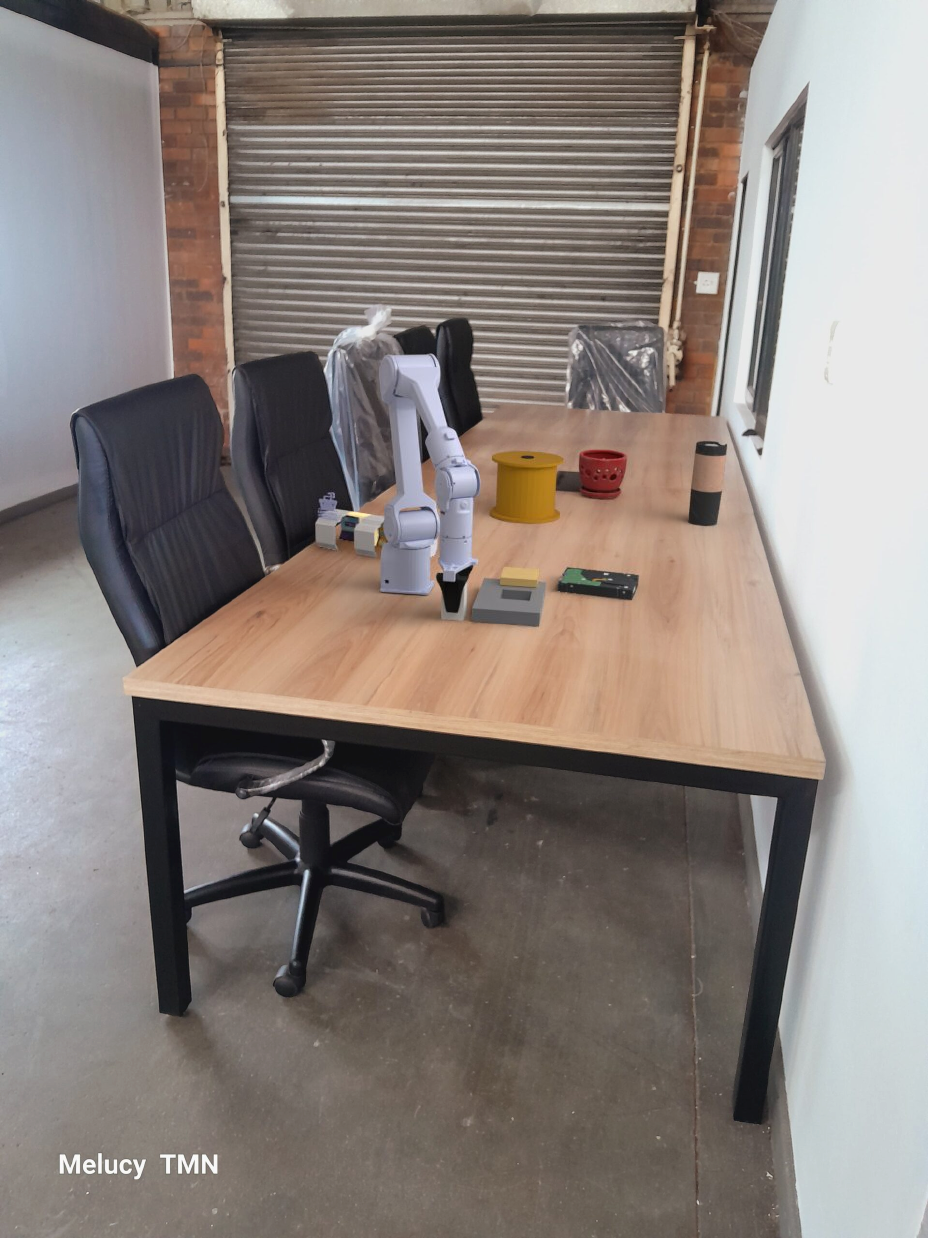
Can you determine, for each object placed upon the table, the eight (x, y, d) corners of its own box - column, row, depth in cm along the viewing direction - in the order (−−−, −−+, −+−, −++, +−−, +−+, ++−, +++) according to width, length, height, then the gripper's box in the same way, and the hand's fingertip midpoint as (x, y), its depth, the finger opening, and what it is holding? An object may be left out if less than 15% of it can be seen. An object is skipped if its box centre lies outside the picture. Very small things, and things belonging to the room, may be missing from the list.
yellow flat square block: (499, 584, 181) (500, 577, 181) (503, 574, 188) (503, 566, 187) (536, 587, 181) (537, 579, 180) (539, 576, 187) (539, 569, 187)
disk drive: (638, 587, 193) (565, 578, 196) (639, 574, 192) (566, 565, 195) (632, 603, 183) (556, 594, 187) (633, 589, 182) (557, 580, 186)
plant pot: (567, 492, 271) (570, 450, 266) (607, 489, 276) (610, 447, 272) (592, 502, 259) (595, 458, 255) (632, 499, 265) (636, 456, 261)
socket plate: (471, 621, 170) (472, 608, 169) (483, 589, 187) (484, 577, 186) (539, 626, 168) (539, 613, 167) (545, 594, 185) (545, 582, 184)
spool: (562, 524, 236) (566, 464, 231) (489, 522, 237) (492, 462, 231) (557, 507, 253) (560, 451, 248) (489, 505, 253) (491, 449, 248)
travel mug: (686, 524, 239) (695, 444, 233) (687, 517, 246) (696, 439, 240) (718, 527, 238) (728, 447, 231) (718, 520, 245) (727, 441, 238)
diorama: (315, 549, 211) (314, 491, 206) (341, 539, 220) (340, 482, 215) (414, 567, 201) (415, 506, 196) (437, 555, 209) (438, 496, 205)
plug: (441, 619, 170) (441, 587, 168) (444, 611, 174) (445, 580, 172) (463, 620, 170) (464, 588, 168) (466, 613, 174) (467, 582, 172)
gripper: (473, 547, 160) (470, 623, 164) (483, 525, 173) (481, 596, 178) (431, 544, 160) (430, 620, 165) (445, 523, 174) (443, 593, 179)
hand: (454, 607), depth 172 cm, fingers closed on plug, 4 cm apart
